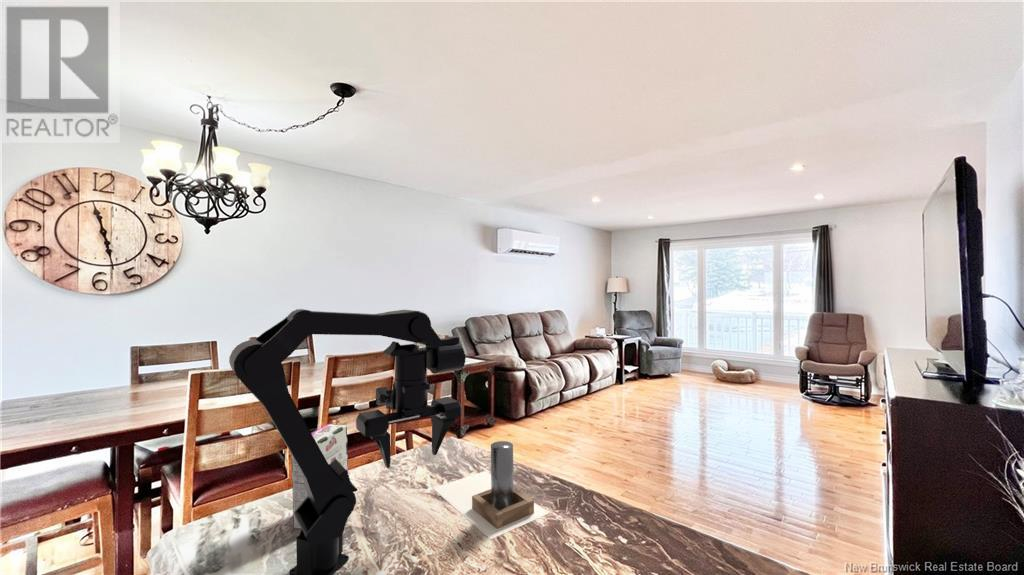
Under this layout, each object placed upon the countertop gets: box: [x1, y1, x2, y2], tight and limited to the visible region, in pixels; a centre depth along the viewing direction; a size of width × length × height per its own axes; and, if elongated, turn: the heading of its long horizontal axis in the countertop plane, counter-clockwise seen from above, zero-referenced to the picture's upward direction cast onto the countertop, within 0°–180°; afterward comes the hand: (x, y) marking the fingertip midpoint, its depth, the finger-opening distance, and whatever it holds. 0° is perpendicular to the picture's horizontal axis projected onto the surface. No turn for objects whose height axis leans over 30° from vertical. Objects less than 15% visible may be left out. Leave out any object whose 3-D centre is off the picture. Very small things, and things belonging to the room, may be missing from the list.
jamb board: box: [432, 470, 550, 540], centre depth 86 cm, size 23×14×1 cm, turn 37°
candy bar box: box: [291, 423, 349, 531], centre depth 83 cm, size 11×5×16 cm, turn 168°
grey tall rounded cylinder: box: [490, 440, 514, 510], centre depth 82 cm, size 4×4×13 cm
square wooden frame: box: [472, 486, 535, 529], centre depth 82 cm, size 9×9×2 cm
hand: (411, 460), depth 77 cm, fingers open, 9 cm apart
